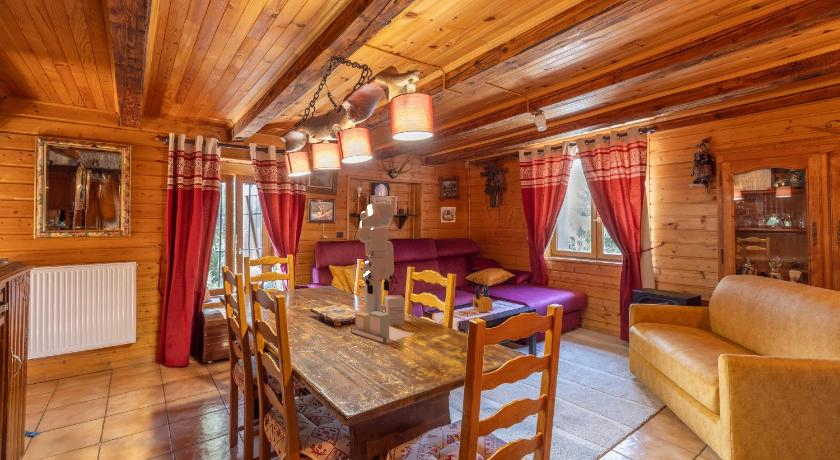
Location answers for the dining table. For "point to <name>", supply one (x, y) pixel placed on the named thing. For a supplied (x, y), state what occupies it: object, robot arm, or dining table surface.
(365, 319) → the faced box
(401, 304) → the supplement box
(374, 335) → the shelf
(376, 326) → the tea box
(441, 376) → the dining table surface
